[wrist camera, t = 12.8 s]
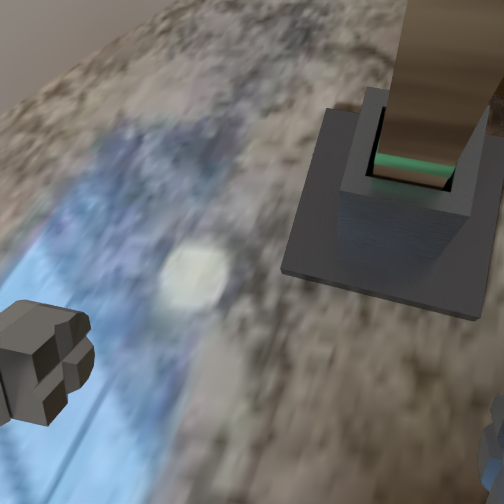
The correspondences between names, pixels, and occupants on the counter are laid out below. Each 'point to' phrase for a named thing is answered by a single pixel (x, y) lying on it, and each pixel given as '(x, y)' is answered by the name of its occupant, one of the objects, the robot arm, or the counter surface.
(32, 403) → the robot arm
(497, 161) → the stand
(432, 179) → the column
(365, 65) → the counter surface
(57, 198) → the counter surface
